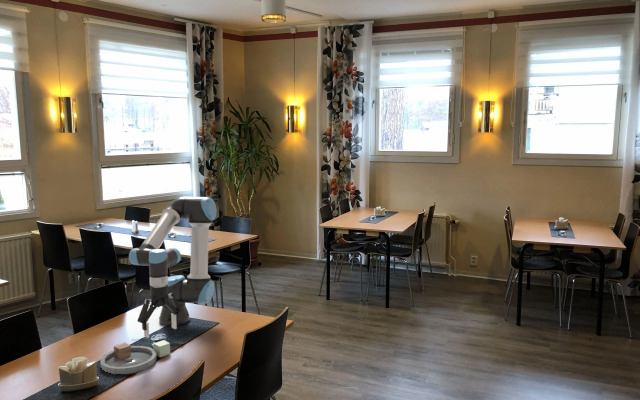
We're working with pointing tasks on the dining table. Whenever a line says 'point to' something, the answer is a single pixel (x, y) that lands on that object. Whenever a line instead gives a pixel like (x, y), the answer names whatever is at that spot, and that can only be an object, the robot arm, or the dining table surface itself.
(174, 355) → the dining table surface
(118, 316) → the dining table surface
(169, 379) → the dining table surface
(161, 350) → the pale green cube
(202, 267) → the robot arm
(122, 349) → the brown wooden cube
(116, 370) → the tray
